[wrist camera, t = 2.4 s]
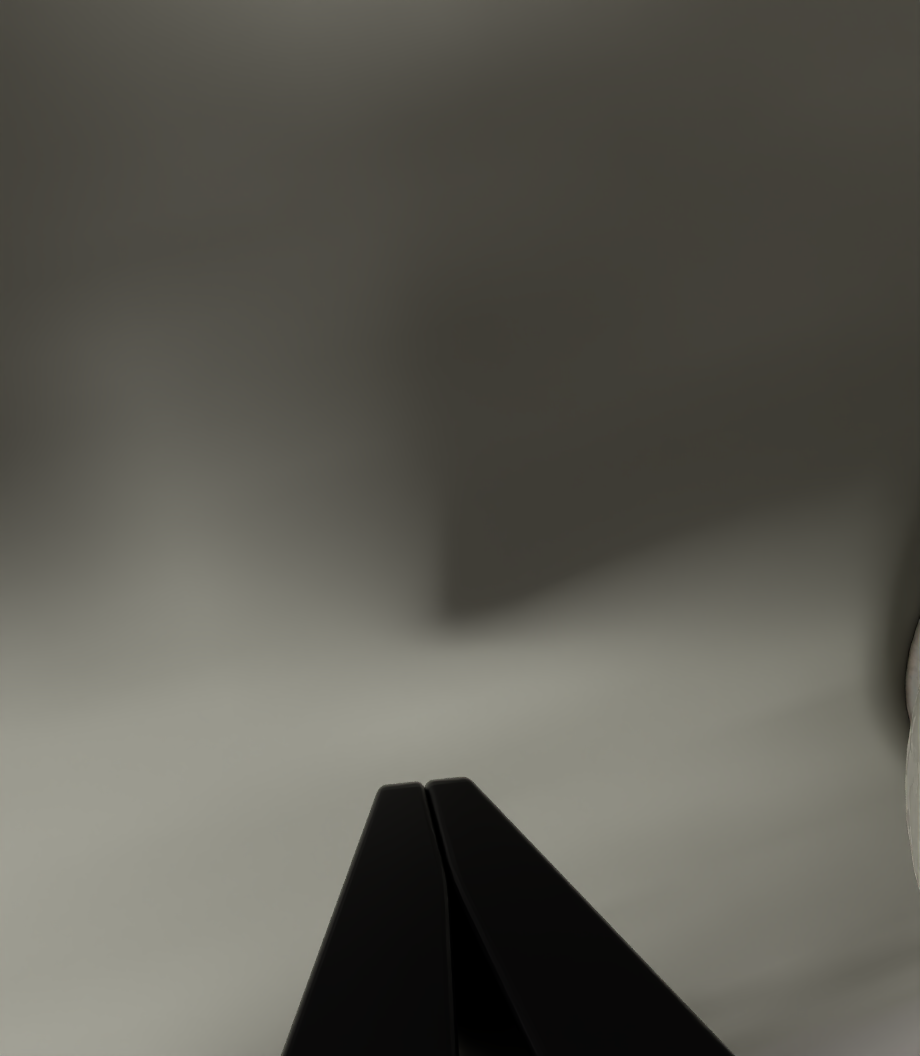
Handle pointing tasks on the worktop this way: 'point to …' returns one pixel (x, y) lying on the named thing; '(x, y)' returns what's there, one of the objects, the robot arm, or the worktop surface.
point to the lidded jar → (913, 751)
